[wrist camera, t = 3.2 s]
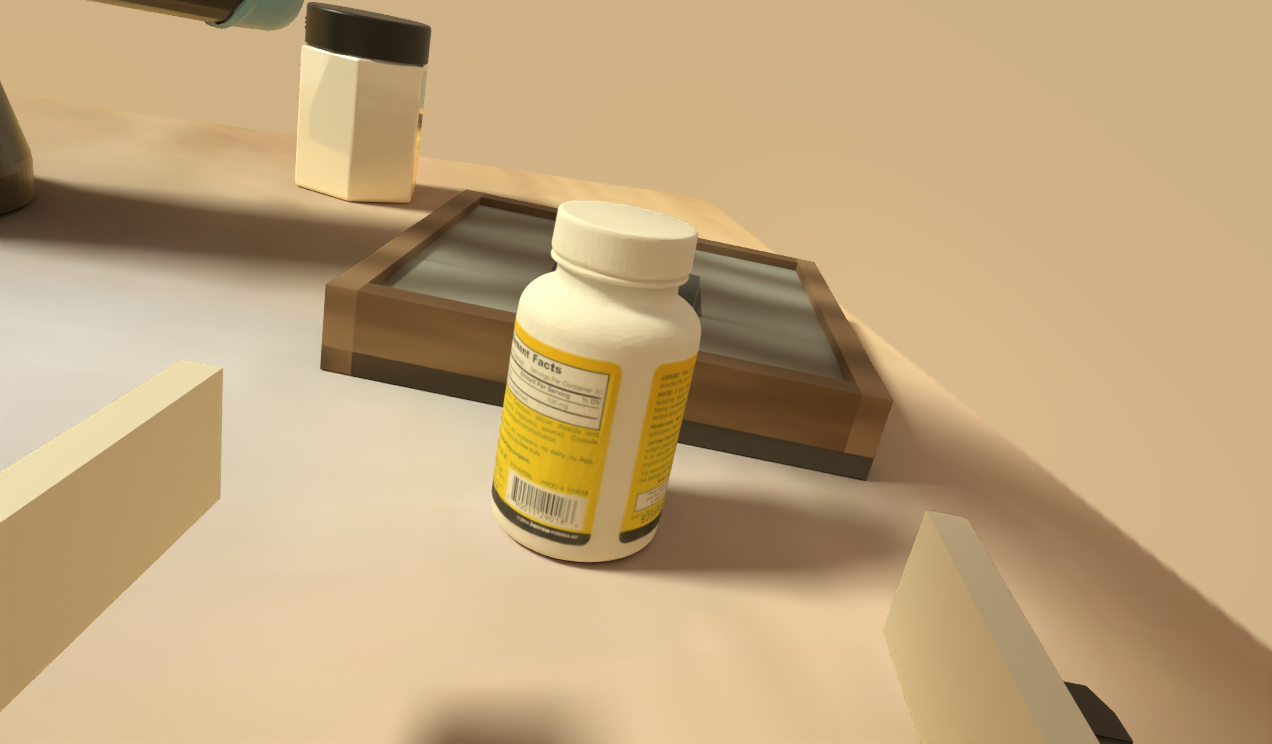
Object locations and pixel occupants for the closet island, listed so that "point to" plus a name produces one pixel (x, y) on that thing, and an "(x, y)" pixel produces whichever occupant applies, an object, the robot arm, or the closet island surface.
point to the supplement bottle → (597, 384)
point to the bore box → (716, 289)
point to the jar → (360, 104)
